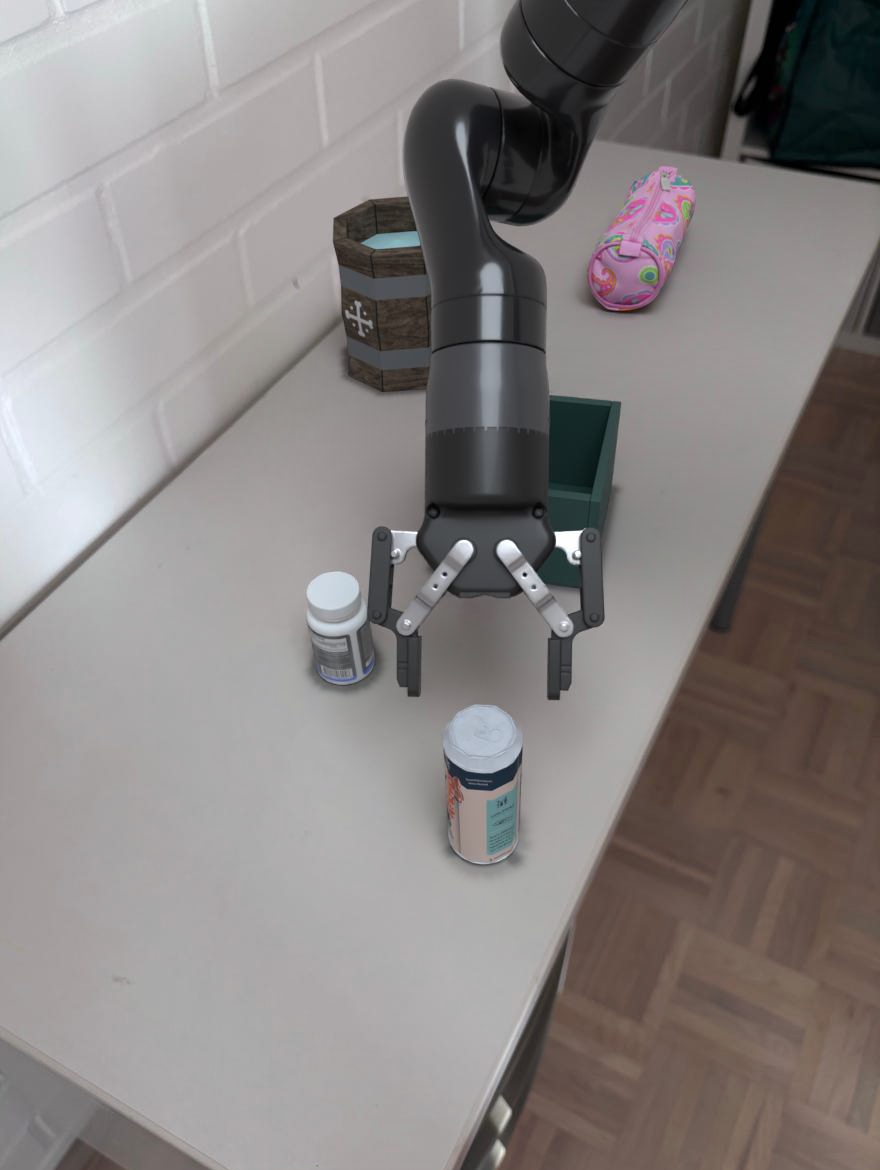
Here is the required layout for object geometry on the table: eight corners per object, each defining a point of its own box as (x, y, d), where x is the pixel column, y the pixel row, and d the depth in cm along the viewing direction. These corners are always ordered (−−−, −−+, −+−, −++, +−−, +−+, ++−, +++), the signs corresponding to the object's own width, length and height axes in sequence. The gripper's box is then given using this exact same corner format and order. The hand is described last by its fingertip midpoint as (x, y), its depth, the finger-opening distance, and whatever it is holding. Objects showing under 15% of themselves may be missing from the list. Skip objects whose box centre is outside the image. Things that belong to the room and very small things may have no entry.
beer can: (465, 797, 69) (461, 688, 60) (529, 821, 67) (534, 712, 58) (437, 853, 66) (428, 747, 57) (502, 878, 64) (504, 773, 56)
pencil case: (623, 229, 125) (631, 156, 119) (695, 237, 123) (707, 163, 116) (577, 311, 112) (583, 234, 106) (657, 323, 110) (668, 244, 103)
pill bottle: (353, 633, 80) (341, 558, 74) (386, 666, 78) (377, 591, 72) (304, 661, 79) (289, 586, 72) (337, 696, 76) (324, 621, 70)
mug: (324, 382, 106) (305, 248, 95) (371, 319, 114) (358, 189, 103) (499, 410, 100) (500, 271, 89) (534, 342, 109) (540, 206, 98)
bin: (611, 488, 91) (621, 401, 84) (591, 589, 82) (600, 501, 75) (467, 472, 94) (466, 386, 87) (433, 568, 85) (428, 481, 78)
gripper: (362, 422, 57) (360, 702, 57) (613, 420, 55) (607, 707, 56) (378, 442, 64) (376, 690, 65) (599, 441, 63) (595, 694, 63)
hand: (483, 697), depth 60 cm, fingers open, 8 cm apart
